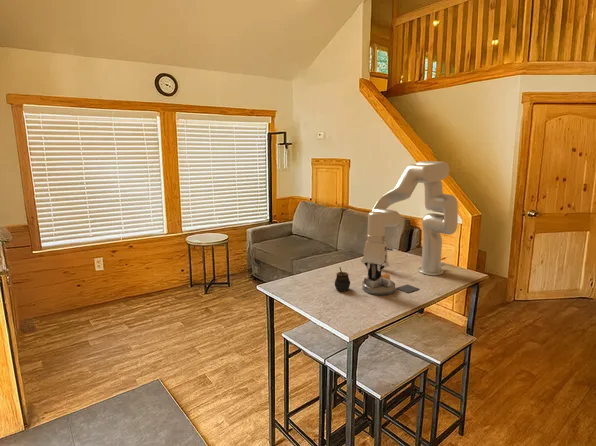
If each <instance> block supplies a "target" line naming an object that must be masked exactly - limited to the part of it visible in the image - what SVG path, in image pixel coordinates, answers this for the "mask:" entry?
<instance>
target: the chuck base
mask: <svg viewBox="0 0 596 446" xmlns="http://www.w3.org/2000/svg"><path fill="white" fill-rule="evenodd" d="M361 288H362V291H363V292H364V293H366V294H368V295H372V296H381V297H383V296H391V295H393V294H394V293H395V292H396V283H395V282H394V281H393V280H391V286H390V287H386V286H383V285H381V286H378V287H375V288H372V287H370V286H367V285H364V280H363V281H362V287H361Z"/></svg>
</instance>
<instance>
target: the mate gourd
mask: <svg viewBox="0 0 596 446" xmlns="http://www.w3.org/2000/svg"><path fill="white" fill-rule="evenodd" d="M338 268H339V270H340V271H338V272H336V274H335V275H336V276H335V277H336V279H335V281H334V286H335V289H336V290H337V291H338V292H346V291H348V290H349V289H350V287H351V280H350V278H349V273H348V272H346V271H342V268H341V266H340V267H338Z"/></svg>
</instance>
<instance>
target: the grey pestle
mask: <svg viewBox="0 0 596 446" xmlns="http://www.w3.org/2000/svg"><path fill="white" fill-rule="evenodd" d="M377 269H378V268H377V264H372V263H371V280H373V281H374V280H377V279H376V271H377Z"/></svg>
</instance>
